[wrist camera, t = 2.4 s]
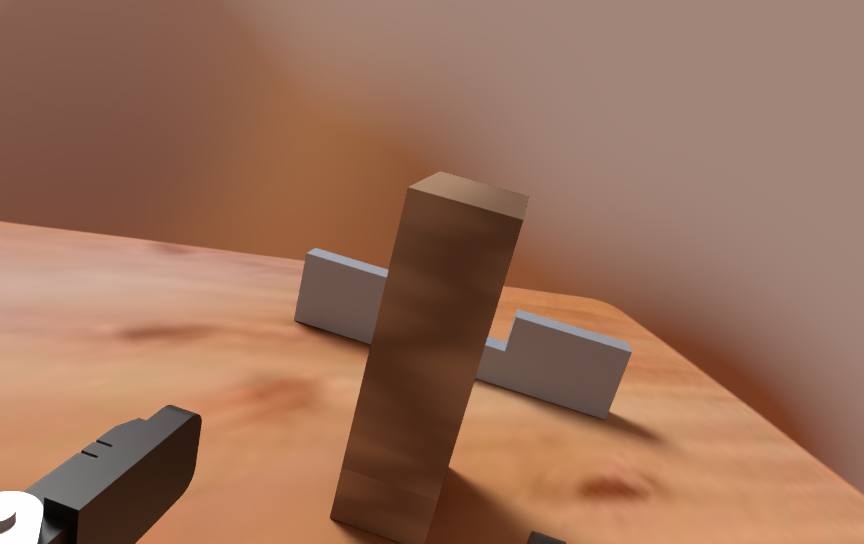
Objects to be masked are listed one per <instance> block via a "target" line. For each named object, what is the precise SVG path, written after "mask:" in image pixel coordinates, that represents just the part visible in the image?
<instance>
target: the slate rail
mask: <svg viewBox="0 0 864 544" xmlns="http://www.w3.org/2000/svg"><path fill="white" fill-rule="evenodd" d="M387 274H388V270H387V269H383V268H380V267H377V266H374V265H370V264H367V263H364V262H360V261H357V260H354V259H350V258H347V257H344V256H340V255H337V254H334V253H331V252H327V251H324V250H321V249H317V248H315V249H313V250H312V251H310V252H308V253H307V254H306V259H305V264H304V270H303V275H302V280H301V286H300V291H299V296H298V301H297V307H296V312H295V317H294V320H295V321H298V322H302V323H305V324H308V325H311V326H314V327H317V328H320V329H323V330H327V331H330V332H333V333H336V334H339V335H342V336H345V337H348V338H351V339H355V340H358V341H361V342H364V343H367V344H370V345H371V342H372V338H373V334H374V329H375V325H376V321H377V317H378V312H379V308H380V304H381V300H382V296H383V291H384V287H385V283H386V279H387ZM631 353H632V351H631V349H630V346H629V343H627V342H624V341H621V340H618V339H614V338H611V337H608V336H604V335H601V334H598V333H595V332H591V331H588V330H585V329H581V328H578V327H575V326H571V325H568V324H565V323H562V322H558V321H555V320H552V319H548V318H545V317H542V316H538V315H535V314H532V313H529V312H525V311H522V310H519V309H517V311H516V314H515V317H514V320H513V324H512V327H511V330H510V333H509V336H508V339H507V342H504V341H501V340H498V339H495V338H491V337H488V338H487V341H486V344H485V348H484V351H483V354H482V357H481V361H480V364H479V367H478V371H477V374H476V377H475V378H476V379H479V380H482V381H486V382H489V383H492V384H495V385H498V386H501V387H504V388H507V389H511V390H514V391H517V392H520V393H523V394H526V395H529V396H532V397H535V398H539V399H542V400H545V401H548V402H551V403H554V404H557V405H560V406H564V407H567V408H570V409H573V410H576V411H579V412H582V413H585V414H589V415H592V416H595V417H598V418H601V419H604V420H605V419H606V417H607V414H608V412H609V409H610V407H611V404H612V402H613V399H614V396H615V394H616V391H617V389H618V386H619V384H620V381H621V379H622V376H623V373H624V371H625V368H626V366H627V363H628V361H629V358H630V356H631Z"/></svg>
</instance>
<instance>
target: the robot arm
mask: <svg viewBox="0 0 864 544" xmlns="http://www.w3.org/2000/svg"><path fill="white" fill-rule="evenodd" d="M201 423H202V419H201V416H200V415H199V414H196V413H193V412H190V411H187V410H184V409H181V408H179V407H176V406H173V405H167V406H165V407H164V408H162V409H161V410H160V411H158V412H157V413H156V414H154V415H153V416H152V417H150V418H149V419H148V420H143V419H141V418H138V419H135V420H132V421H129V422H127V423H124V424H121V425H118V426H115V427H114V428H113V429H111V430H110V431H108V432H107V433H105V434H104V435H103V436H101V437H100V438H98V439H97V441H96V442H93V443H91V444H90V445H88V446H87V447H86V448H84V449H83V450H82V452H81V453H77V454H76V455H74V456H73V457H72V458H70V459H69V460H67V461H66V462H64V463H63V464H62V465H60V466H59V467H57V468H56V469H55V470H53V471H52V472H50V473H49V474H48V475H46V476H45V477H43V478H42V479H40V480H39V481H38V482H36V483H35V484H33V485H32V486H31V487H29V488H28V489H26V490H25V491H24V492H0V544H135V543H136V542H137V541H138V540H139V539H140V538H141V537H142V536H143V535H144V534H145V533H146V532H147V531H148V530H149V529H150V528H151V527H152V526H153V525H154V524H155V523H156V522H157V521H158V520H159V519H160V518H161V517H162V515H163V514H164V513H165V512H166V511H167V510H168V509H169V508H170V507H171V506H172V505H173V504H174V503H175V502H176V501H177V500H178V499H179V498H180V497H181V496H182V495H183V493H184V492H185V491H186V489H187V488H188V486H189V484H190V482H191V480H192V477H193V475H194V471H195V466H196V459H197V452H198V445H199V438H200V431H201ZM527 544H566V542H564V541H561V540H558V539H555V538H552V537H549V536H546V535H543V534H540V533H537V532H535V531H532V533H531V534H530V537H529V539H528V542H527Z"/></svg>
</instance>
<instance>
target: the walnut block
mask: <svg viewBox="0 0 864 544" xmlns="http://www.w3.org/2000/svg"><path fill="white" fill-rule="evenodd" d="M528 199H529V196H526V195H523V194H519V193H516V192H512V191H509V190H505V189H501V188H498V187H494V186H491V185H487V184H483V183H480V182H476V181H473V180H468V179H466V178H462V177H458V176H455V175H451V174H448V173H444V172H438V173H436V174H434V175H432V176H430V177H428V178H426V179H424V180H422V181H420V182H418V183H416V184H414V185H412V186H410V187H408V190H407V194H406V198H405V203H404V207H403V211H402V216H401V220H400V224H399V228H398V232H397V237H396V241H395V245H394V249H393V253H392V258H391V262H390V266H389V270H388V274H387V279H386V283H385V287H384V291H383V296H382V300H381V304H380V308H379V312H378V317H377V321H376V325H375V329H374V334H373V338H372V342H371V346H370V350H369V355H368V359H367V363H366V367H365V372H364V376H363V380H362V384H361V388H360V393H359V397H358V401H357V405H356V410H355V414H354V418H353V422H352V426H351V431H350V435H349V439H348V443H347V448H346V452H345V456H344V460H343V464H342V469H341V473H340V477H339V481H338V486H337V490H336V494H335V498H334V502H333V507H332V511H331V515H330V518H332V519H335V520H338V521H340V522H343V523H346V524H349V525H351V526H354V527H357V528H360V529H362V530H365V531H368V532H371V533H373V534H376V535H379V536H382V537H385V538H387V539H390V540H393V541H396V542H398V543H401V544H425V541H426V538H427V535H428V532H429V528H430V525H431V522H432V518H433V515H434V512H435V509H436V505H437V502H438V499H439V495H440V492H441V489H442V486H443V482H444V479H445V476H446V472H447V469H448V466H449V463H450V459H451V456H452V453H453V449H454V446H455V443H456V440H457V436H458V433H459V430H460V426H461V423H462V420H463V417H464V413H465V410H466V407H467V403H468V400H469V397H470V394H471V390H472V387H473V384H474V380H475V377H476V374H477V371H478V367H479V364H480V361H481V357H482V354H483V351H484V348H485V344H486V341H487V338H488V334H489V331H490V328H491V325H492V321H493V318H494V315H495V311H496V308H497V305H498V302H499V298H500V295H501V292H502V288H503V285H504V282H505V278H506V275H507V272H508V269H509V265H510V262H511V259H512V256H513V252H514V249H515V246H516V242H517V239H518V236H519V233H520V229H521V226H522V223H523V219H524V215H525V211H526V207H527V203H528Z"/></svg>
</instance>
